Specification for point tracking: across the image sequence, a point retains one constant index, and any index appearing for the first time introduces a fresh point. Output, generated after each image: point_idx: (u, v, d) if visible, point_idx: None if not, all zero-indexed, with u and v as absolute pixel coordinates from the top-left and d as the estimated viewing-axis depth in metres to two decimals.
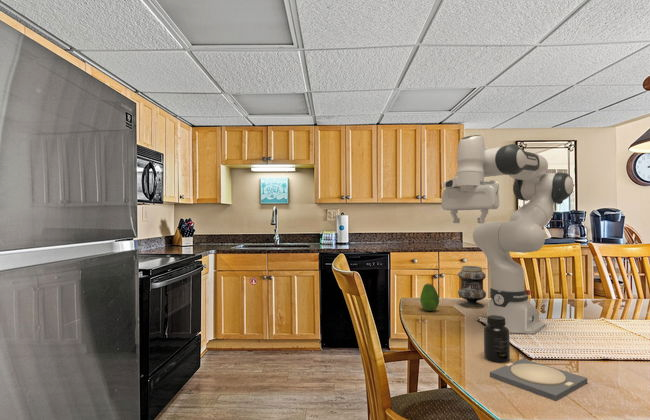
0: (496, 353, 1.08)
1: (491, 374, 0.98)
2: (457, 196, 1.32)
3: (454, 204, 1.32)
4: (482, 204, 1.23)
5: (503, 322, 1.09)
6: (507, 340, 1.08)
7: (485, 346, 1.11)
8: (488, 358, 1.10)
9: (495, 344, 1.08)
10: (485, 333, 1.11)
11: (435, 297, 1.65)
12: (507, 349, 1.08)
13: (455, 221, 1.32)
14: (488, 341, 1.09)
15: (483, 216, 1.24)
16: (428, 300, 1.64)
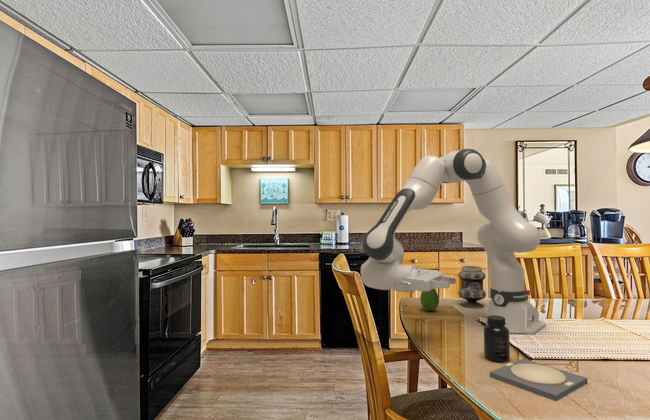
0: (496, 353, 1.08)
1: (491, 374, 0.98)
2: None
3: None
4: None
5: (503, 322, 1.09)
6: (507, 340, 1.08)
7: (485, 346, 1.11)
8: (488, 358, 1.10)
9: (495, 344, 1.08)
10: (485, 333, 1.11)
11: (435, 297, 1.65)
12: (507, 349, 1.08)
13: (453, 283, 1.21)
14: (488, 341, 1.09)
15: (440, 286, 1.13)
16: (428, 300, 1.64)
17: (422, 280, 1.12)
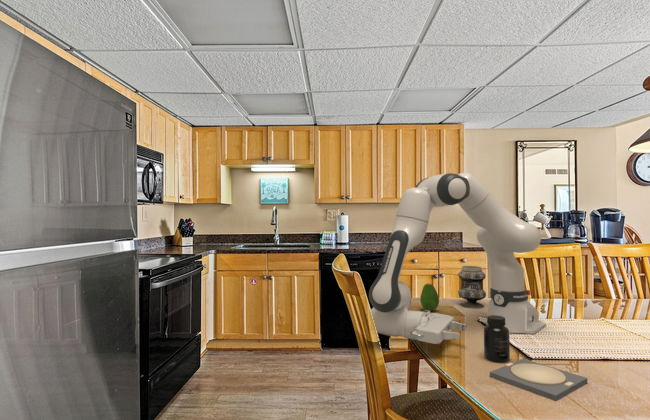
0: (496, 353, 1.08)
1: (491, 374, 0.98)
2: None
3: None
4: None
5: (503, 322, 1.09)
6: (507, 340, 1.08)
7: (485, 346, 1.11)
8: (488, 358, 1.10)
9: (495, 344, 1.08)
10: (485, 333, 1.11)
11: (435, 297, 1.65)
12: (507, 349, 1.08)
13: None
14: (488, 341, 1.09)
15: (451, 337, 1.12)
16: (428, 300, 1.64)
17: (433, 332, 1.11)
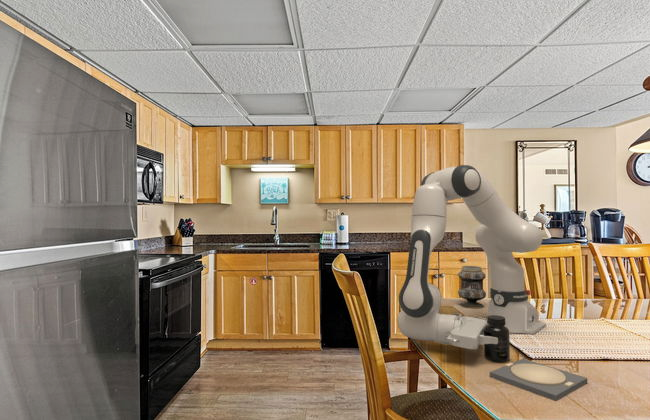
0: (496, 353, 1.08)
1: (491, 374, 0.98)
2: None
3: None
4: None
5: (503, 322, 1.09)
6: (507, 340, 1.08)
7: (485, 346, 1.11)
8: (488, 358, 1.10)
9: (495, 344, 1.08)
10: (485, 333, 1.11)
11: None
12: (507, 349, 1.08)
13: None
14: None
15: (489, 341, 1.07)
16: None
17: (469, 337, 1.05)
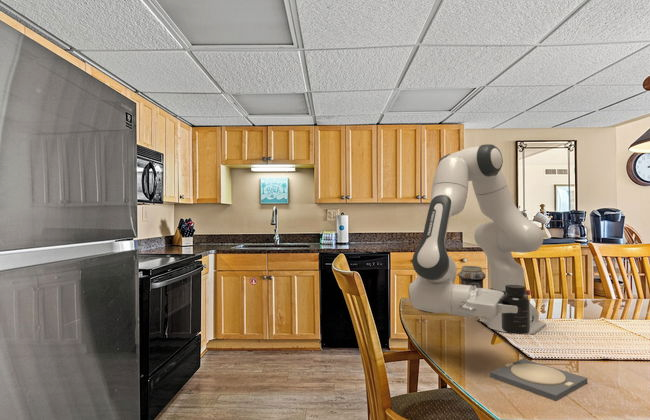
0: (515, 324, 1.00)
1: (491, 374, 0.98)
2: None
3: None
4: None
5: (523, 291, 1.01)
6: (527, 310, 1.00)
7: (503, 317, 1.03)
8: (506, 329, 1.02)
9: (514, 315, 1.00)
10: (503, 303, 1.03)
11: None
12: (527, 320, 1.00)
13: None
14: None
15: (508, 310, 0.99)
16: None
17: (487, 305, 0.97)
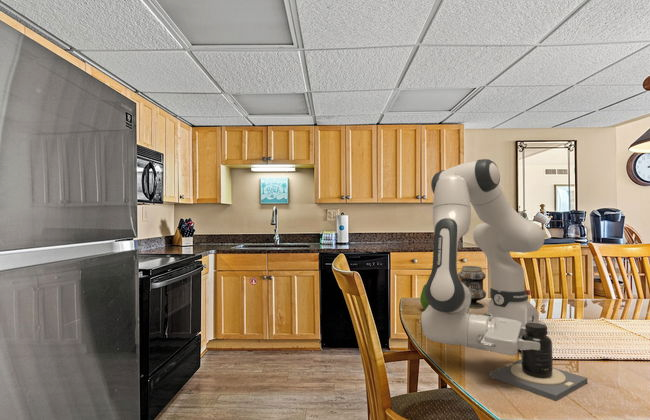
0: (537, 367, 0.93)
1: (491, 374, 0.98)
2: None
3: None
4: None
5: (545, 331, 0.94)
6: (550, 352, 0.93)
7: (523, 358, 0.96)
8: (527, 372, 0.95)
9: (536, 357, 0.93)
10: None
11: None
12: (550, 362, 0.93)
13: None
14: (527, 352, 0.95)
15: (529, 347, 0.92)
16: None
17: (508, 341, 0.91)
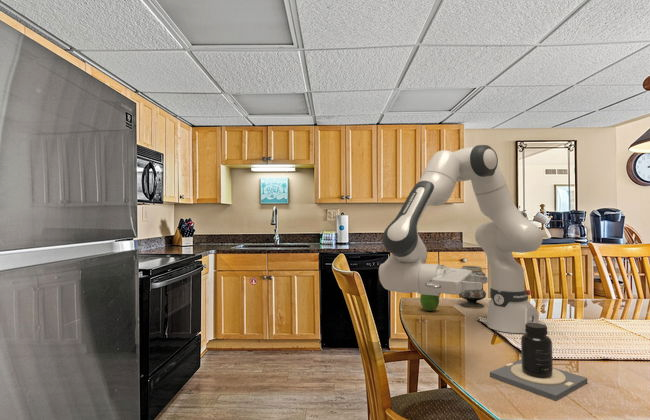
0: (537, 367, 0.93)
1: (491, 374, 0.98)
2: None
3: None
4: None
5: (545, 331, 0.94)
6: (550, 352, 0.93)
7: (523, 358, 0.96)
8: (527, 372, 0.95)
9: (536, 357, 0.93)
10: (523, 343, 0.96)
11: (435, 297, 1.65)
12: (550, 362, 0.93)
13: (485, 283, 1.07)
14: (527, 352, 0.95)
15: (472, 287, 0.99)
16: (428, 300, 1.64)
17: (452, 282, 0.98)
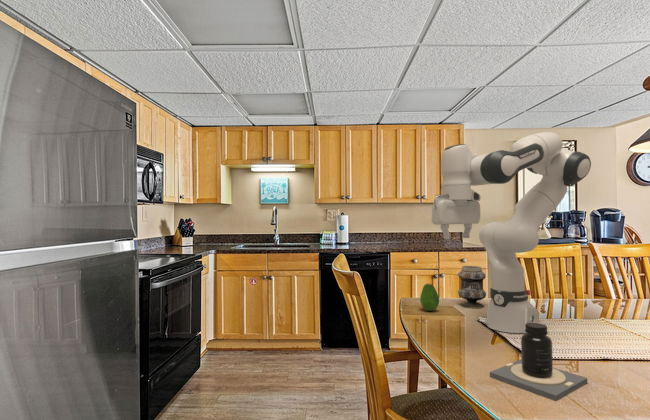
0: (537, 367, 0.93)
1: (491, 374, 0.98)
2: None
3: None
4: None
5: (545, 331, 0.94)
6: (550, 352, 0.93)
7: (523, 358, 0.96)
8: (527, 372, 0.95)
9: (536, 357, 0.93)
10: (523, 343, 0.96)
11: (435, 297, 1.65)
12: (550, 362, 0.93)
13: None
14: (527, 352, 0.95)
15: (444, 232, 1.19)
16: (428, 300, 1.64)
17: (439, 218, 1.16)
